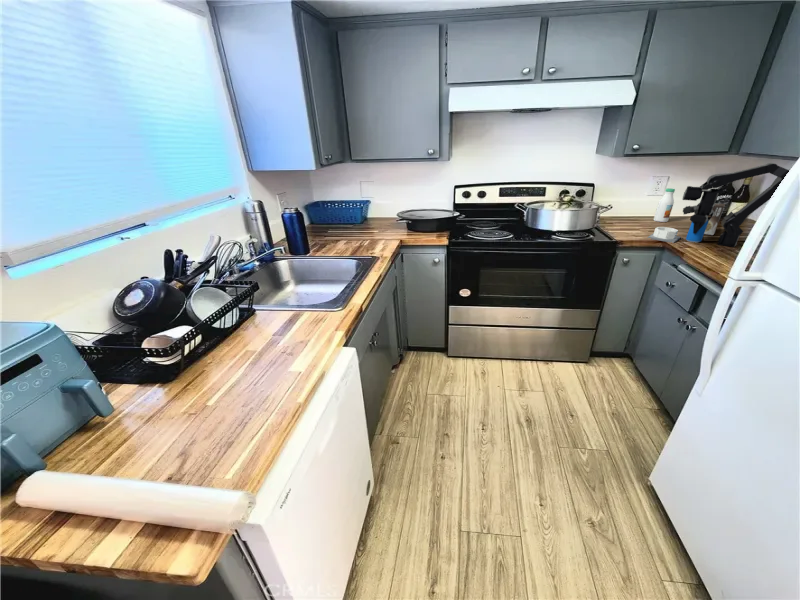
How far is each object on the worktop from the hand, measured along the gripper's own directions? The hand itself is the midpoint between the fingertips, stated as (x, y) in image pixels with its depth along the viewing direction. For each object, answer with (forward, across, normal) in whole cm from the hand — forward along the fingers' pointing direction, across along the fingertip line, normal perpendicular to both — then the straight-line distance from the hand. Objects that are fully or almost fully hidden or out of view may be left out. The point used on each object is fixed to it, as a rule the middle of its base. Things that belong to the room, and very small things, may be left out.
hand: (696, 231), depth 176 cm
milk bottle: (+5, -39, -25) cm, 47 cm away
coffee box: (+5, -23, 0) cm, 24 cm away
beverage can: (+5, 0, 0) cm, 5 cm away
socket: (+5, +4, -12) cm, 14 cm away
